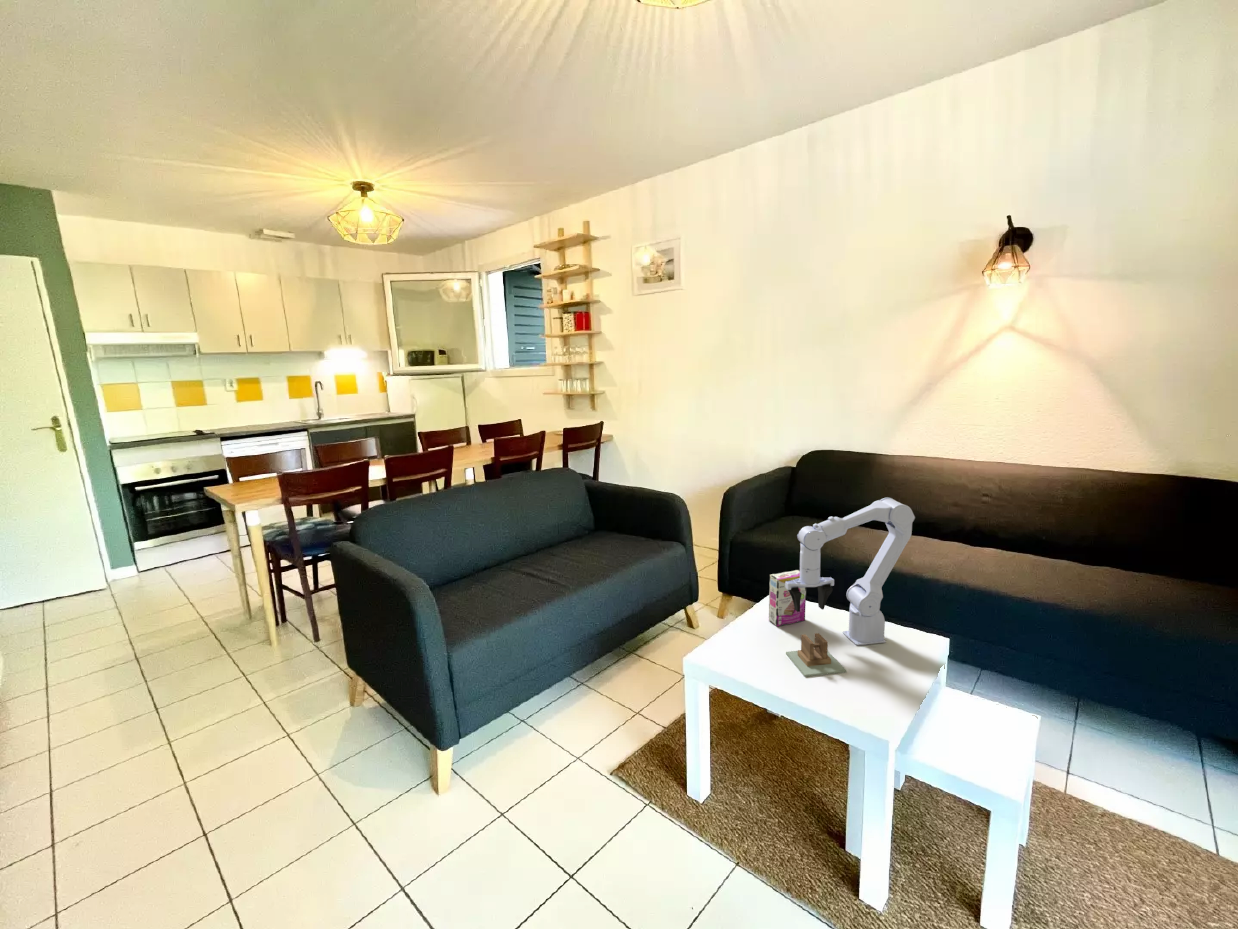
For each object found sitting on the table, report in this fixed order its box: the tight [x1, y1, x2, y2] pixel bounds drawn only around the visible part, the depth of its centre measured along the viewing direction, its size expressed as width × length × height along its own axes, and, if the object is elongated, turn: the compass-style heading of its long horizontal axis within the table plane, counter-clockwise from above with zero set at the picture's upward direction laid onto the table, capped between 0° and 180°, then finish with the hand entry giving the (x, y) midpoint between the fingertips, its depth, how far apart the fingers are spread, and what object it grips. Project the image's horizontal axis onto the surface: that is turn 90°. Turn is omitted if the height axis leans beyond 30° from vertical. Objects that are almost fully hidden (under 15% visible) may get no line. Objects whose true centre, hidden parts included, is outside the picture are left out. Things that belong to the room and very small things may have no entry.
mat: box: [785, 650, 848, 678], centre depth 149 cm, size 12×12×1 cm
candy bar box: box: [768, 569, 807, 627], centre depth 172 cm, size 11×5×16 cm, turn 108°
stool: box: [797, 632, 831, 666], centre depth 149 cm, size 7×6×6 cm
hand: (809, 609), depth 159 cm, fingers open, 7 cm apart
